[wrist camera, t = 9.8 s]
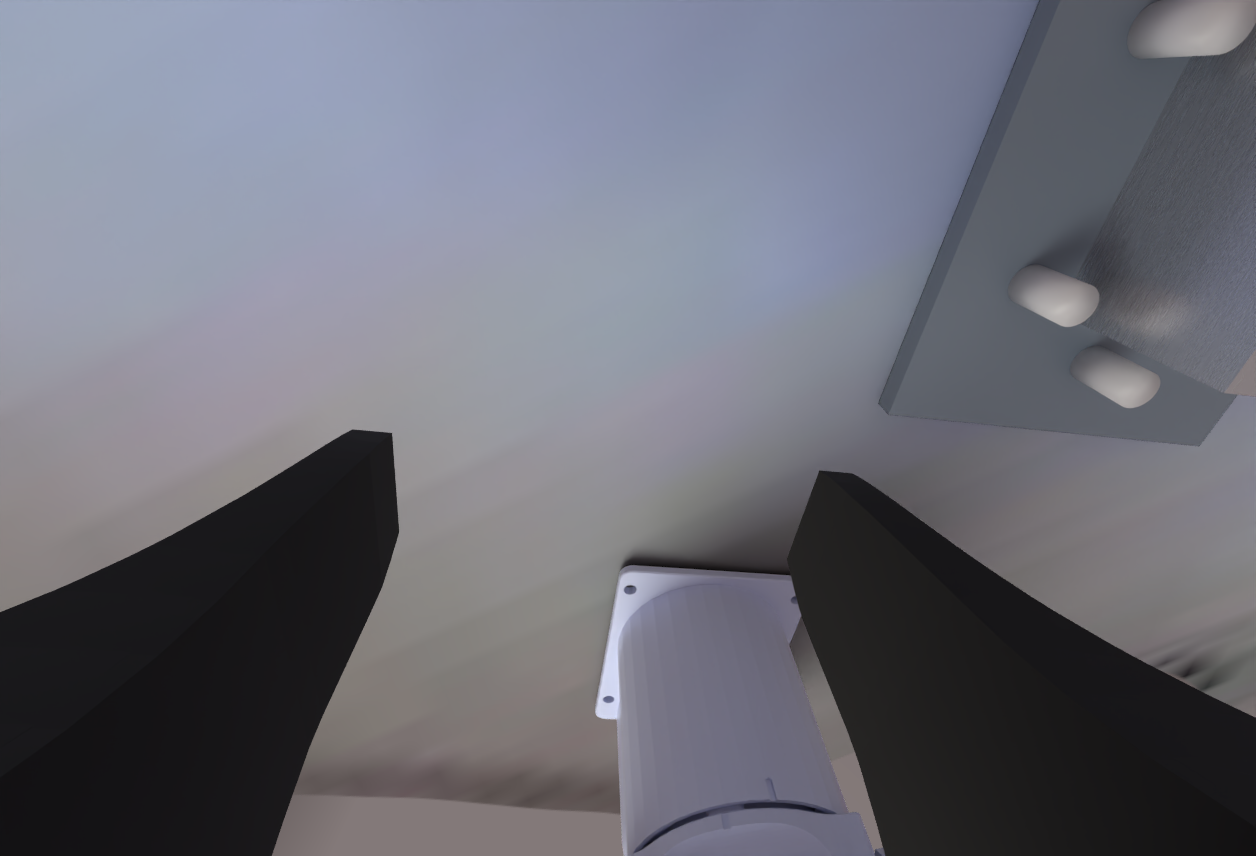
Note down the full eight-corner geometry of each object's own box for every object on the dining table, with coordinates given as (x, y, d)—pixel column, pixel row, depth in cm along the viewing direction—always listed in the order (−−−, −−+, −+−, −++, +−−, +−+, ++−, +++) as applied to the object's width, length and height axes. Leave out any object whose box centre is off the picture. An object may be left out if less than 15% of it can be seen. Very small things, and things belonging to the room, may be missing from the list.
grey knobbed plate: (1180, 434, 22) (1254, 478, 19) (878, 403, 20) (917, 446, 18) (1591, -141, 14) (1803, -190, 11) (1143, -259, 12) (1278, -344, 10)
